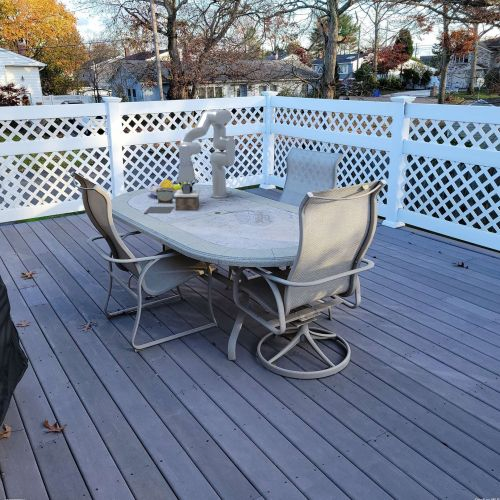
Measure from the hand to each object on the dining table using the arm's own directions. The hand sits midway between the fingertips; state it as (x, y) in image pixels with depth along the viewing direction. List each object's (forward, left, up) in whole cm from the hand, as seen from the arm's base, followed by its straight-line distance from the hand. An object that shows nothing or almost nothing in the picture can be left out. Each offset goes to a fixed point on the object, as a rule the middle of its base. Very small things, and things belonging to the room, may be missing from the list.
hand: (187, 191), depth 311 cm
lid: (0, 0, -1) cm, 1 cm away
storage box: (0, 0, -11) cm, 11 cm away
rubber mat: (+17, +7, -11) cm, 22 cm away
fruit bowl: (+20, -36, -11) cm, 42 cm away
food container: (+17, -14, -11) cm, 25 cm away
